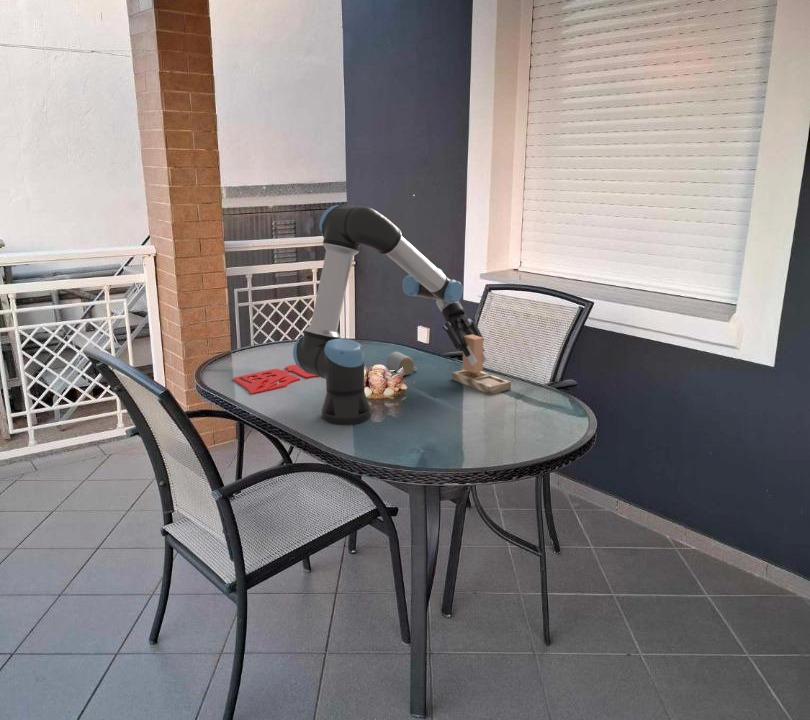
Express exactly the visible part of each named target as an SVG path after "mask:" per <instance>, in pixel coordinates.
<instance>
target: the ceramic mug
mask: <svg viewBox="0 0 810 720" xmlns="http://www.w3.org/2000/svg"><path fill="white" fill-rule="evenodd" d="M386 367H387V369H388V370H389V371H390V370H395V371H398V370H399V369H400V368H402V367H403V368H404V372H405V375H404V376H408V375H410V374H411V373H412V372H417V370H418V367H417V366H415V363H414V360H413V359H412V357H410V356H408V355H406V354H403V353H401V352H400V351H392V352H391V353H390V354H389V355H388V357H387V360H386Z"/></svg>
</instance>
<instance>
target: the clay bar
mask: <svg viewBox="0 0 810 720" xmlns="http://www.w3.org/2000/svg"><path fill="white" fill-rule="evenodd" d="M463 336H464V339H465V342H466V345H467V346H469V347H470V349H471V350H472V352H473V354H474V356H475V358H476V360H477V362H476V363H475V365H473V366H472V365H471V363H470V361H469V359H468V357H466V356H465V354H464V352H463V351H462V370H467V371H469V372H472V373H476V372H481V371H482V372H484V371H483V367H484V363H483V349H484V341H483V339H484V337H483V336H482V337H483V338H482V337H479V336H476V335H472V334H471V335H463ZM467 346H466V347H467Z"/></svg>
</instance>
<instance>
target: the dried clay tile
mask: <svg viewBox="0 0 810 720" xmlns="http://www.w3.org/2000/svg"><path fill="white" fill-rule="evenodd" d="M478 381H480V382H483V383H485V384H488V385H494V384H498V383H501V382H498V381H495V380H493V379H490V378H487V379H482V380H478Z"/></svg>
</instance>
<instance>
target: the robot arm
mask: <svg viewBox="0 0 810 720" xmlns="http://www.w3.org/2000/svg"><path fill="white" fill-rule="evenodd" d="M318 228H319V231H320V234H321V236H322V238H323V241H322V246H323V247H324V249H325V254H324V259H323V265H322V269H321V273H320V279H319V283H318V287H317V288H318V289H317V292H316V298H315V303H314V307H313V312H312V316H311V322H310V325H309V326H308V327H306V328H305V329H304V332H303V335H302V336H300V337H299V338H298V339H297V340H296V341H295V343H294V345H293V349H292V356H293V360H294V364H297V366H298V367H299V368H300V369H302V370H304V371H305V372H307V373H309V374H313V375H316V376H319V377H318V378H322V379H325V383H326V384H325V385H326V388H325V389H326V395H325V397H324V400H323V405H322V408H321V418H322V420H323V421H325V422H326V423H329V424H333V425H342V426H343V425H348V426H349V425H356V424H360V423H363V422H366V421H367V420H370V419H371V415H372V409H371V406H370V403H369V401H368V398H367V396H366V395H367V394H366V391H365V355H364V354H365V353H364V349H363V346H362V345H361V344H360V343H359V342H357V341H355V340H352V339H345V338H342V337H341V334H340V333H339V331H338V328H339V324H340V323H339V322H340V319H341V315H342V310H343V305H344V301H345V295H346V290H347V286H348V281H349V277H350V272H351V267H352V262H353V258H354V256H356V255H357V254H359V253H360V248H361V246H364V247H368V248H370V249H373V250H375V251H376V252H377V253H378V254H379V255H385V256H387V257H388V258H389V259H391V260H392V261H393V262H394V263H395V264H397V265H398V266H399V267H400V268H401V269H403V270H404V271H405V273H407V274H408V275H406V276H405V277H404V278H403V280H402V290H403V291H402V292H403V293H404V294H405V295H406V296H409V297H414V298H415V297H419V298H420V297H421V298H426V299H429V300H430V299H431V300H434V302H435V303H436V306H437V307H438V309H439V311H440V312H441V315H442V316H443V318H444V320H445V323H444V325H442V328H443V330H444V331H445V332H446V334H447V335H448V337H449V339H450V340H451V342H452V345H453V347H455V349H456V350H459V351H460V352H462V353H463V352H464V354H465V356H466V357H468V359H469V361H470V363H471V365H472V366H473V365H475V363H476V362H477V360H476V358H475V356H474V354H473V352H472V350H471V349H470V347H469V346H467V345H466V342H465V339H464V336H466V335H471V334H472V335H476V336H479V337H482V338H483V342H484V341H485V339H484V337H483V335H482V333H481V331H480V329H479V327H478V325H477V323H476V318H474V317H472V318H469V317H468V316H467V315H466V314H465V309H464V308H463V306H462V304H461V302H460V299H461V298H462V296H463V293H464V288H463V285H462V282H460V281H458V280H456V279H451V278H449V277H448V276H447V275H446V274H445V273H444V271H443V270H442V269H441V268H438V267H437V266H436V265H435V264H433V263H432V262H431V261H430V260H429V259H428V257H426V256H425V255H424V254H422V253H421V252H420V251H419V250H418V249H417V248H416V247H415V246H413V244H411V243H410V242H409V241H408V240H407V239H406V238H405V237H403V235H402V231H401V229H400V228H399V227H398V226H397V225H396V224H394V222H392V221H391V220H390V219H388V218H387V217H386V216H384V215H383V214H382V213H380V212H379V211H377V210H376V209H374V208H372V207H369V206H363V205H362V206H361V205H351V204H350V205H348V204H338V205H332V206H330V207H329V208H327V209H326V210H325V211H324V212H323V213H322V215H321V217H320V219H319V226H318ZM463 333H465V334H466V335H464V334H463ZM466 346H467V347H466ZM487 361H488V357H487V355H486V353H485V349H484V348H483V364H485V363H486V362H487Z"/></svg>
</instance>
